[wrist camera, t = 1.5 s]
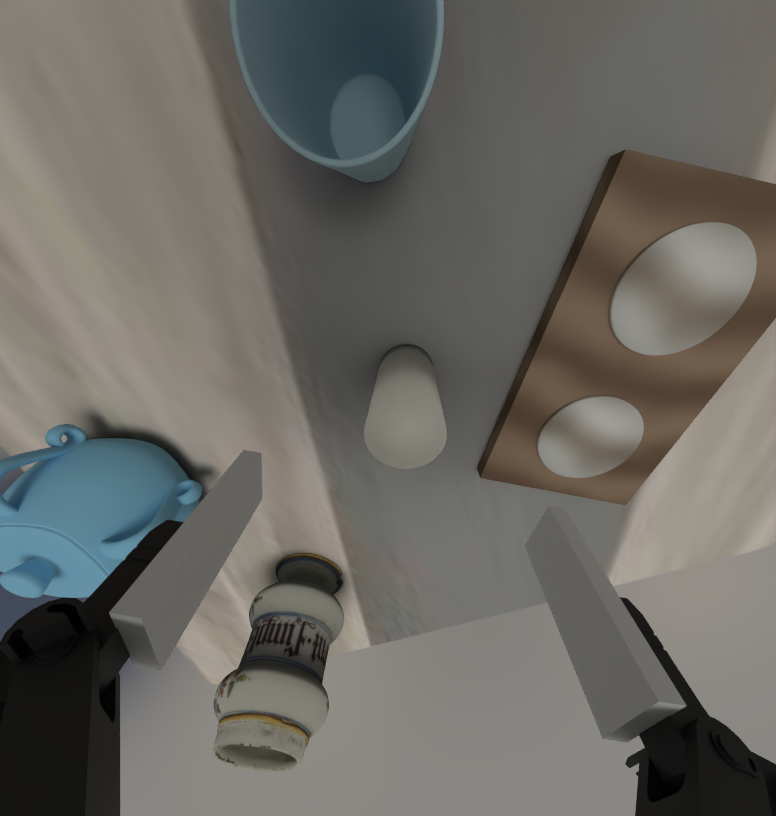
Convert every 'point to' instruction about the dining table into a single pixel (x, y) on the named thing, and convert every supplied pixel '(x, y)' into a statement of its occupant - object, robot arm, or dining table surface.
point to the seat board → (639, 327)
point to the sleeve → (405, 410)
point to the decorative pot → (84, 510)
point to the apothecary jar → (281, 669)
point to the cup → (341, 75)
